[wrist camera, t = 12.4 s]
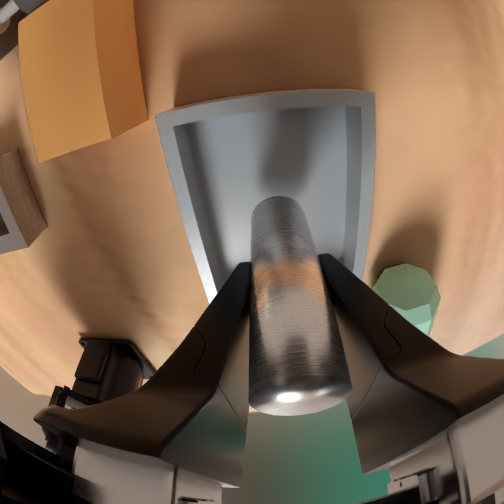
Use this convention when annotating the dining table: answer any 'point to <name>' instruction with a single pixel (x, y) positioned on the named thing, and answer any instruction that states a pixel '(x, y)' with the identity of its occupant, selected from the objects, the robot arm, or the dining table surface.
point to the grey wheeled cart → (13, 21)
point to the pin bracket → (17, 206)
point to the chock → (80, 74)
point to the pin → (291, 318)
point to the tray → (272, 171)
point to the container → (410, 294)
